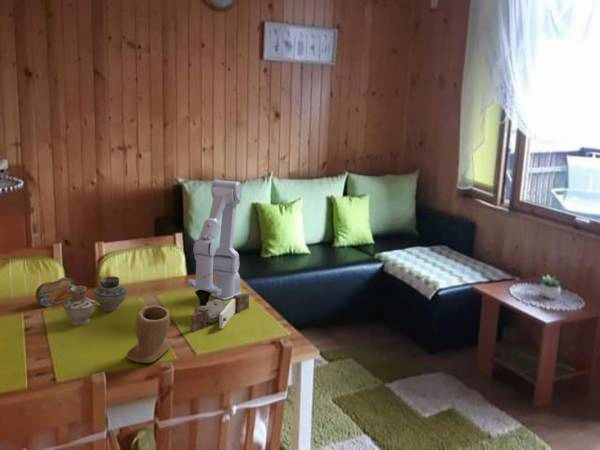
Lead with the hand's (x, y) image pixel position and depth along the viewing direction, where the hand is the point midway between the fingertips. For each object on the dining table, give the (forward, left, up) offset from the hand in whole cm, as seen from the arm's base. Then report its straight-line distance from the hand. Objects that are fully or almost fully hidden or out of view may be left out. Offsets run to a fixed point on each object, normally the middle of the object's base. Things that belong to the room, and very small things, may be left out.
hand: (204, 309), depth 209 cm
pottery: (+25, -26, -2) cm, 36 cm away
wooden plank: (0, +8, -1) cm, 8 cm away
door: (-1, +11, -1) cm, 11 cm away
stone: (0, +5, -2) cm, 5 cm away
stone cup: (+32, +11, -2) cm, 34 cm away
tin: (+28, -45, -2) cm, 53 cm away
